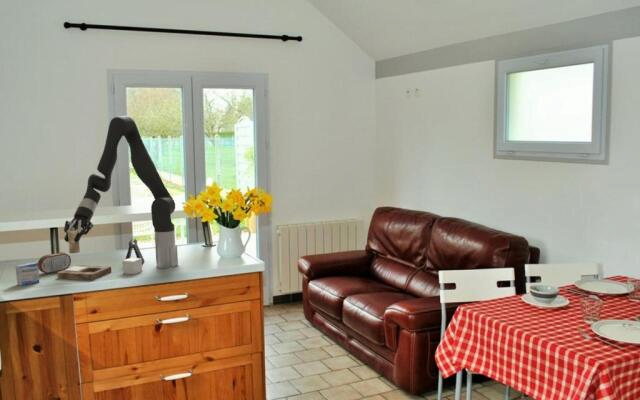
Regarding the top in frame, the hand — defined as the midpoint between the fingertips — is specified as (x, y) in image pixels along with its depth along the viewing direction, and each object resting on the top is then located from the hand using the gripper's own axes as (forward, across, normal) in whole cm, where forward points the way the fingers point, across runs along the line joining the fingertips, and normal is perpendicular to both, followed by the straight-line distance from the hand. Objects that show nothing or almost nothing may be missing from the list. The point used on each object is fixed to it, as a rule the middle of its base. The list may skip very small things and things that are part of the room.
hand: (71, 241), depth 268 cm
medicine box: (+22, -11, +1) cm, 25 cm away
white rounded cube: (+4, +24, +19) cm, 31 cm away
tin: (+8, -13, +15) cm, 22 cm away
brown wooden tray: (+10, +5, +13) cm, 17 cm away
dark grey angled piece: (-6, +16, +29) cm, 33 cm away
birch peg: (+3, 0, +5) cm, 6 cm away
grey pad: (+8, 0, +11) cm, 14 cm away
